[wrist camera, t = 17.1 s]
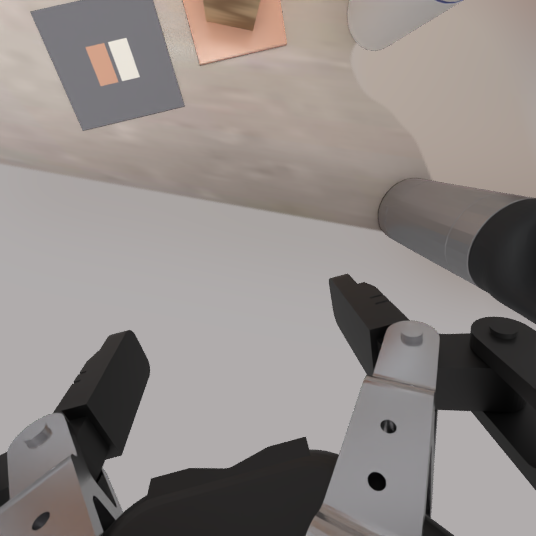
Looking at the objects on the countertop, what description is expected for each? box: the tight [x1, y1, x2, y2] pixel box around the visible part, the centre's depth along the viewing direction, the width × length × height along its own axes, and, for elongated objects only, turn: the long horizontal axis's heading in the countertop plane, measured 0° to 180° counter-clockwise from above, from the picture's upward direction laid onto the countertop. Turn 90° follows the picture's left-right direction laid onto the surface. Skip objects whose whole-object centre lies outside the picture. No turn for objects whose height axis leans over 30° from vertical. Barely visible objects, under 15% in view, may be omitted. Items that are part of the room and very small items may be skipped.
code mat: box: [31, 0, 184, 131], centre depth 31 cm, size 12×11×1 cm
